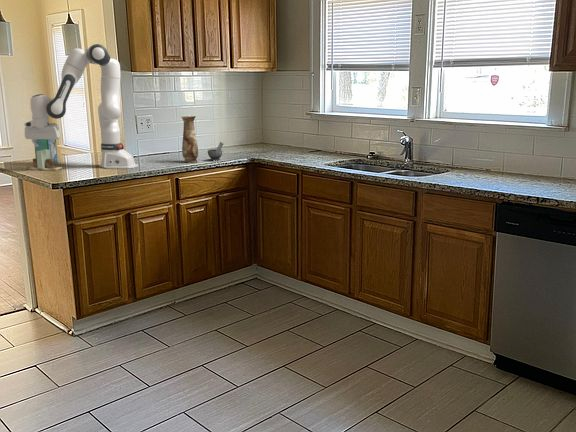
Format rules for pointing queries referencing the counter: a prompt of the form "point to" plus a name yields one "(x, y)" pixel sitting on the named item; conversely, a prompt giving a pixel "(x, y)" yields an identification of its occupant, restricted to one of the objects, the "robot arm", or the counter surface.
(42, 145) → the milk carton
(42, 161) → the pale green flat box
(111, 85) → the robot arm
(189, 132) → the vase
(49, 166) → the jig
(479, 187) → the counter surface
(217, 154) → the mortar and pestle
